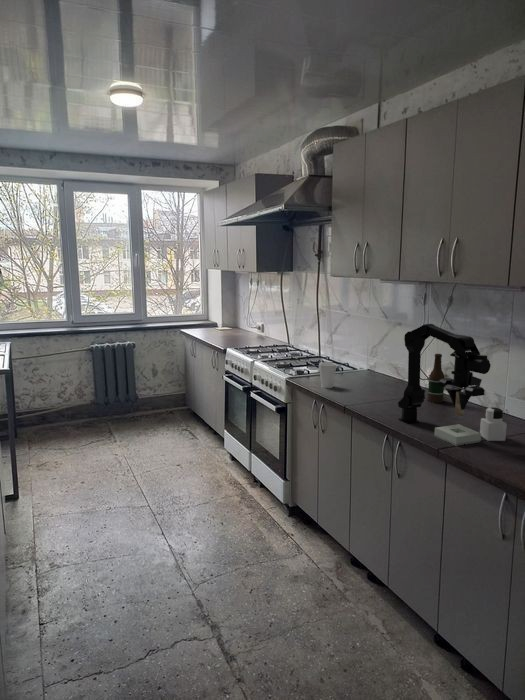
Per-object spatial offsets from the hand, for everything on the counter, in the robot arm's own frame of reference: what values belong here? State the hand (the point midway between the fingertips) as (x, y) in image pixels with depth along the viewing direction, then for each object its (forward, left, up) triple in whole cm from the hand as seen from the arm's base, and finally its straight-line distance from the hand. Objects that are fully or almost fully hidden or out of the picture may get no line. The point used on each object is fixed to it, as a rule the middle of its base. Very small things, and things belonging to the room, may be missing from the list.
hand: (459, 408), depth 199 cm
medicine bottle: (+4, +14, -13) cm, 19 cm away
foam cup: (-94, -6, -13) cm, 95 cm away
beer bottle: (-48, +30, -13) cm, 58 cm away
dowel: (0, 0, -2) cm, 3 cm away
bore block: (0, 0, -12) cm, 12 cm away
